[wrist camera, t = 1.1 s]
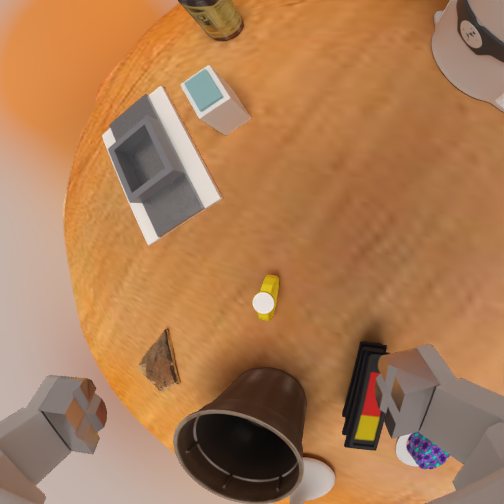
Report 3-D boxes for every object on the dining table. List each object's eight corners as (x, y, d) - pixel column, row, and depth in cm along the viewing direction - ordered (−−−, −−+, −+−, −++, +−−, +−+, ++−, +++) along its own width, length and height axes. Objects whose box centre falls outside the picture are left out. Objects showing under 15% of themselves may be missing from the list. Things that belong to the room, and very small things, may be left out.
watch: (266, 271, 45) (255, 275, 39) (286, 274, 44) (278, 279, 38) (260, 312, 45) (249, 322, 40) (279, 316, 45) (270, 327, 39)
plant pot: (206, 410, 50) (161, 466, 35) (239, 336, 47) (191, 386, 31) (291, 450, 47) (268, 518, 31) (337, 381, 43) (330, 450, 28)
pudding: (471, 435, 38) (478, 453, 33) (415, 472, 41) (418, 491, 36) (442, 398, 39) (450, 416, 34) (382, 440, 42) (384, 460, 37)
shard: (170, 326, 51) (164, 329, 49) (203, 359, 50) (199, 363, 48) (140, 362, 53) (135, 366, 52) (170, 392, 52) (165, 397, 51)
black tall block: (337, 424, 42) (345, 449, 28) (355, 342, 46) (370, 334, 32) (361, 427, 41) (377, 453, 27) (378, 346, 45) (403, 338, 31)
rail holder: (164, 87, 46) (147, 77, 41) (223, 198, 45) (209, 196, 40) (105, 136, 50) (86, 131, 45) (151, 245, 49) (133, 247, 45)
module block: (232, 89, 43) (207, 62, 34) (251, 119, 43) (228, 96, 34) (208, 105, 44) (177, 83, 35) (225, 135, 44) (197, 117, 35)
